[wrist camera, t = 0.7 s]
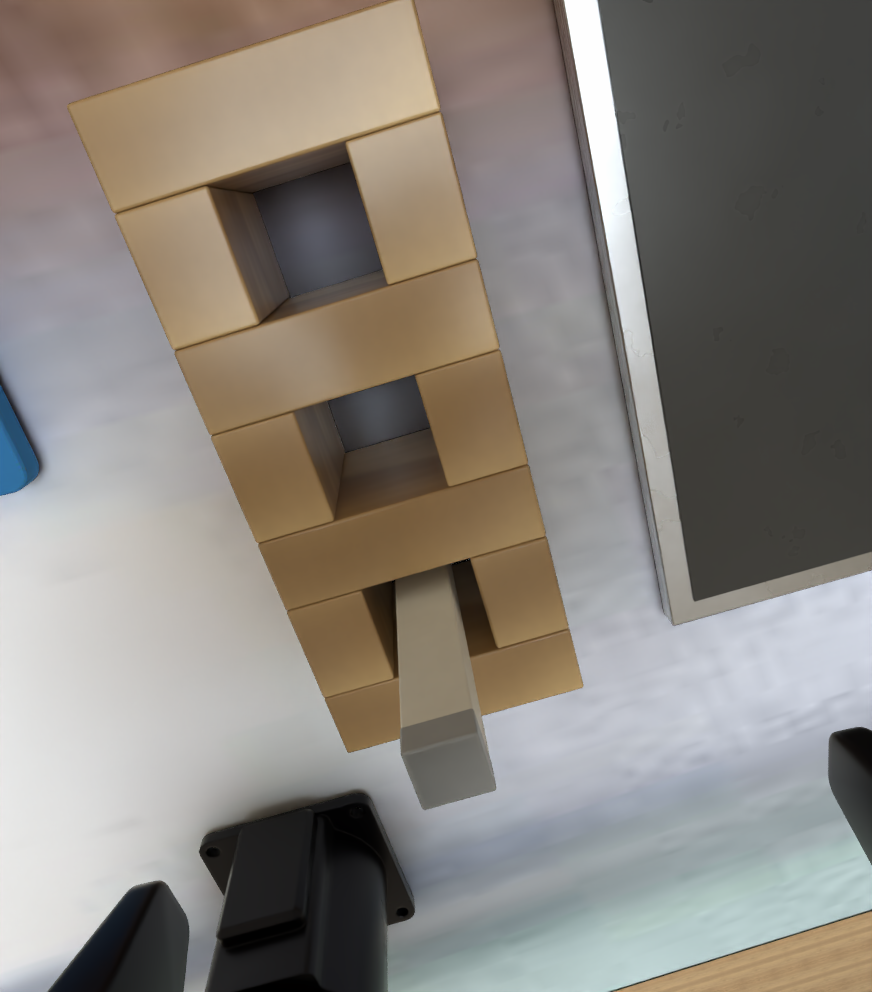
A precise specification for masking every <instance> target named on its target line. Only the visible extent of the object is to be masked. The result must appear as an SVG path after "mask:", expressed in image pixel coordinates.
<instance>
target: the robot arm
mask: <svg viewBox="0 0 872 992" xmlns="http://www.w3.org/2000/svg"><path fill="white" fill-rule="evenodd" d="M828 777H829V783H830V786H831V789H832V792H833V794H834V796H835V798H836V800H837V802H838V804H839V806H840V808H841V809H842V811H843V813H844V815H845V817H846V819H847V820H848V822H849V824H850V826H851V828H852V830H853V832H854V833H855V835H856V837H857V839H858V841H859V843H860V844H861V846H862V848H863V850H864V852H865V854H866V855H867V857H868V859H869V861H870V863H871V865H872V731H871V730H869V729H867V728H864V727H855V728H850V729H846V730H841V731H837V732H834V733H832V734H831V736H830V737H829V757H828ZM355 807H360V808H361V809H355ZM213 847H216V848H213ZM199 853H200V856H201V858H202V860H203V861H204V863H205V865H206V866H207V868H208V870H209V871H210V873H211V875H212V876H213V878H214V880H215V882H216V883H217V885H218V887H219V888H220V890H221V892H222V893H223V895H224V901H223V905H222V909H221V914H220V918H219V922H218V927H217V931H216V937H217V941H216V945H215V949H214V954H213V958H212V963H211V967H210V971H209V976H208V980H207V985H206V989H205V992H388V981H387V925H390V924H394V923H398V922H402V921H405V920H408V919H410V918H411V917H412V916H413V915H414V913H415V904H414V898H413V896H412V894H411V891H410V889H409V887H408V884H407V882H406V880H405V877H404V875H403V873H402V871H401V868H400V866H399V864H398V861H397V859H396V857H395V854H394V852H393V850H392V847H391V845H390V843H389V841H388V838H387V836H386V834H385V831H384V829H383V827H382V824H381V822H380V820H379V817H378V815H377V813H376V811H375V808H374V806H373V804H372V801H371V800H370V798H369V797H368V796H366V795H365V794H360V793H357V794H352V795H348V796H344V797H341V798H337V799H333V800H330V801H326V802H323V803H319V804H315V805H312V806H308V807H305V808H301V809H297V810H294V811H290V812H287V813H283V814H279V815H276V816H272V817H268V818H265V819H261V820H258V821H254V822H250V823H247V824H243V825H240V826H236V827H232V828H229V829H225V830H221V831H218V832H214V833H211V834H208V835H206V836H205V837H204V838H203V840H202V844H201V847H200V851H199ZM188 943H189V923H188V919H187V916H186V914H185V912H184V911H183V909H182V908H181V906H180V904H179V903H178V901H177V900H176V898H175V896H174V895H173V893H172V892H171V890H170V888H169V887H168V885H167V884H166V883H165V882H163V881H153V882H149V883H144V884H140V885H136V886H134V887H132V888H131V889H130V890H129V891H128V892H127V893H126V894H125V895H124V896H123V897H122V899H121V900H120V901H119V902H118V904H117V905H116V906H115V907H114V909H113V910H112V911H111V912H110V914H109V915H108V916H107V917H106V919H105V920H104V921H103V923H102V924H101V925H100V926H99V928H98V929H97V930H96V931H95V933H94V934H93V935H92V936H91V938H90V939H89V940H88V941H87V943H86V944H85V945H84V946H83V948H82V949H81V950H80V951H79V953H78V954H77V955H76V956H75V958H74V959H73V960H72V961H71V963H70V964H69V965H68V966H67V968H66V969H65V970H64V971H63V973H62V974H61V975H60V976H59V978H58V979H57V980H56V981H55V983H54V984H53V985H52V986H51V988H50V989H49V990H48V991H47V992H183V991H184V981H185V972H186V962H187V952H188Z"/></svg>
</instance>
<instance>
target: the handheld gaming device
mask: <svg viewBox="0 0 872 992" xmlns="http://www.w3.org/2000/svg"><path fill="white" fill-rule="evenodd" d="M38 472H39V464H38V461H37V458H36V456H35V454H34V452H33V450H32V448H31V446H30V444H29V442H28V440H27V438H26V436H25V434H24V432H23V430H22V428H21V426H20V424H19V422H18V420H17V418H16V415H15V413H14V411H13V409H12V407H11V405H10V403H9V401H8V399H7V397H6V395H5V393H4V391H3V389H2V387H1V385H0V496H2V495H6V494H10V493H14V492H17V491H19V490H21V489H22V488H24V487H25V486H26V485H28V484H29V483H30V482H32V481H33V480H34V479H35V478H36V477H37V475H38Z"/></svg>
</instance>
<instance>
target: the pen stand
mask: <svg viewBox="0 0 872 992" xmlns="http://www.w3.org/2000/svg"><path fill="white" fill-rule="evenodd" d="M67 108H68V111H69V113H70V115H71V118H72V120H73V122H74V125H75V127H76V129H77V131H78V134H79V136H80V138H81V141H82V143H83V145H84V148H85V150H86V152H87V154H88V157H89V159H90V161H91V164H92V166H93V168H94V171H95V173H96V175H97V177H98V180H99V182H100V184H101V187H102V189H103V191H104V194H105V196H106V198H107V200H108V203H109V205H110V207H111V210H112V211H113V212H114V213H117V214H116V215H115V219H116V221H117V223H118V226H119V228H120V230H121V232H122V235H123V237H124V239H125V242H126V244H127V246H128V249H129V251H130V253H131V255H132V258H133V260H134V262H135V265H136V267H137V269H138V272H139V274H140V276H141V278H142V281H143V283H144V285H145V288H146V290H147V292H148V295H149V297H150V299H151V301H152V304H153V306H154V308H155V311H156V313H157V315H158V317H159V320H160V322H161V324H162V327H163V329H164V331H165V334H166V336H167V338H168V340H169V343H170V345H171V347H172V349H173V350H176V351H175V357H176V359H177V361H178V364H179V366H180V368H181V370H182V373H183V375H184V377H185V380H186V382H187V384H188V387H189V389H190V391H191V393H192V396H193V398H194V400H195V403H196V405H197V407H198V410H199V412H200V414H201V416H202V419H203V421H204V423H205V426H206V428H207V430H208V432H209V434H210V435H212V436H211V440H212V442H213V444H214V447H215V449H216V451H217V453H218V456H219V458H220V460H221V463H222V465H223V467H224V470H225V472H226V474H227V476H228V479H229V481H230V483H231V486H232V488H233V490H234V493H235V495H236V497H237V499H238V502H239V504H240V506H241V509H242V511H243V513H244V516H245V518H246V520H247V522H248V525H249V527H250V529H251V532H252V534H253V536H254V538H255V541H256V542H257V543H258V547H259V549H260V552H261V554H262V556H263V558H264V561H265V563H266V565H267V568H268V570H269V572H270V575H271V577H272V579H273V581H274V584H275V586H276V588H277V591H278V593H279V595H280V598H281V600H282V602H283V604H284V607H285V609H286V610H287V614H288V617H289V619H290V621H291V623H292V626H293V628H294V630H295V633H296V635H297V637H298V640H299V642H300V644H301V646H302V649H303V651H304V653H305V656H306V658H307V660H308V663H309V665H310V667H311V669H312V672H313V674H314V676H315V679H316V681H317V683H318V685H319V688H320V690H321V692H322V695H323V697H325V701H326V704H327V706H328V708H329V711H330V713H331V715H332V718H333V720H334V722H335V724H336V727H337V729H338V731H339V734H340V736H341V738H342V741H343V743H344V745H345V747H346V750H347V752H348V753H351V752H354V751H358V750H361V749H365V748H369V747H372V746H376V745H379V744H383V743H386V742H390V741H394V740H397V739H400V729H401V721H400V694H399V667H398V640H397V613H396V587H395V582H394V583H392V580H395V579H399V578H402V577H406V576H409V575H413V574H416V573H420V572H423V571H427V570H430V569H433V568H437V567H440V566H444V565H447V564H451V563H454V562H458V561H461V560H465V559H468V558H470V561H467V562H464V563H460V564H457V565H453V566H452V571H453V576H454V581H455V586H456V591H457V596H458V601H459V606H460V611H461V616H462V621H463V626H464V631H465V636H466V641H467V646H468V651H469V656H470V661H471V666H472V671H473V676H474V681H475V686H476V691H477V696H478V701H479V706H480V711H481V716H483V715H487V714H490V713H494V712H497V711H501V710H505V709H508V708H512V707H515V706H519V705H522V704H526V703H530V702H533V701H537V700H540V699H544V698H548V697H551V696H555V695H558V694H562V693H565V692H569V691H573V690H576V689H580V688H582V687H583V681H582V677H581V673H580V669H579V665H578V661H577V657H576V653H575V649H574V645H573V641H572V637H571V633H570V629H569V627H568V621H567V617H566V613H565V609H564V605H563V601H562V597H561V593H560V589H559V585H558V580H557V576H556V572H555V568H554V564H553V560H552V556H551V552H550V548H549V544H548V540H547V537H546V535H545V534H546V532H545V528H544V524H543V520H542V516H541V512H540V508H539V504H538V500H537V495H536V491H535V487H534V483H533V479H532V475H531V471H530V467H529V465H528V459H527V455H526V451H525V447H524V443H523V439H522V435H521V430H520V426H519V422H518V418H517V414H516V410H515V406H514V402H513V398H512V394H511V390H510V386H509V382H508V378H507V374H506V370H505V366H504V362H503V358H502V354H501V351H500V350H499V342H498V338H497V333H496V329H495V325H494V321H493V317H492V313H491V309H490V305H489V301H488V297H487V293H486V289H485V285H484V281H483V277H482V273H481V269H480V265H479V261H478V260H477V259H475V258H477V252H476V248H475V244H474V240H473V236H472V232H471V228H470V224H469V220H468V216H467V212H466V208H465V204H464V200H463V196H462V192H461V188H460V184H459V180H458V176H457V171H456V167H455V163H454V159H453V155H452V151H451V147H450V143H449V139H448V135H447V131H446V127H445V123H444V119H443V115H442V113H441V112H439V111H440V103H439V99H438V95H437V91H436V87H435V83H434V79H433V75H432V71H431V67H430V63H429V59H428V54H427V50H426V46H425V42H424V38H423V34H422V30H421V26H420V22H419V18H418V14H417V10H416V6H415V2H414V0H388V1H385V2H382V3H379V4H376V5H373V6H370V7H367V8H363V9H360V10H357V11H354V12H351V13H348V14H345V15H342V16H339V17H336V18H332V19H329V20H326V21H323V22H320V23H317V24H314V25H311V26H308V27H305V28H301V29H298V30H295V31H292V32H289V33H286V34H283V35H280V36H277V37H274V38H270V39H267V40H264V41H261V42H258V43H255V44H252V45H249V46H246V47H243V48H240V49H236V50H233V51H230V52H227V53H224V54H221V55H218V56H215V57H212V58H209V59H205V60H202V61H199V62H196V63H193V64H190V65H187V66H184V67H181V68H178V69H174V70H171V71H168V72H165V73H162V74H159V75H156V76H153V77H150V78H147V79H143V80H140V81H137V82H134V83H131V84H128V85H125V86H122V87H119V88H116V89H112V90H109V91H106V92H103V93H100V94H97V95H94V96H91V97H88V98H85V99H81V100H78V101H75V102H72V103H69V104H68V105H67ZM348 162H351V166H352V169H353V172H354V176H355V179H356V182H357V185H358V189H359V192H360V195H361V199H362V202H363V205H364V209H365V212H366V215H367V219H368V222H369V225H370V229H371V232H372V235H373V239H374V242H375V245H376V249H377V252H378V255H379V259H380V262H381V265H382V269H383V270H380V271H376V272H373V273H370V274H367V275H363V276H360V277H357V278H354V279H350V280H347V281H344V282H341V283H337V284H334V285H331V286H328V287H324V288H321V289H318V290H315V291H311V292H308V293H305V294H302V295H298V296H295V297H292V298H289V293H288V290H287V288H286V285H285V282H284V279H283V276H282V274H281V271H280V268H279V265H278V262H277V260H276V257H275V254H274V251H273V248H272V246H271V243H270V240H269V237H268V234H267V232H266V229H265V226H264V223H263V220H262V218H261V215H260V212H259V209H258V206H257V204H256V201H255V198H254V195H253V194H251V193H253V192H256V191H259V190H262V189H265V188H269V187H272V186H275V185H278V184H281V183H285V182H288V181H291V180H294V179H297V178H300V177H304V176H307V175H310V174H313V173H316V172H320V171H323V170H326V169H329V168H332V167H336V166H339V165H342V164H345V163H348ZM412 375H415V378H416V382H417V385H418V388H419V392H420V395H421V398H422V401H423V405H424V408H425V411H426V415H427V418H428V421H429V425H430V428H428V429H425V430H422V431H418V432H415V433H412V434H408V435H405V436H402V437H398V438H395V439H391V440H388V441H385V442H381V443H378V444H375V445H371V446H368V447H364V448H361V449H358V450H354V451H351V452H348V453H345V450H344V447H343V444H342V441H341V439H340V436H339V433H338V430H337V427H336V425H335V422H334V419H333V416H332V413H331V411H330V408H329V405H328V402H327V401H328V400H332V399H335V398H338V397H342V396H345V395H348V394H352V393H355V392H358V391H362V390H365V389H368V388H372V387H375V386H378V385H382V384H385V383H388V382H392V381H395V380H398V379H402V378H405V377H408V376H412Z"/></svg>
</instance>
